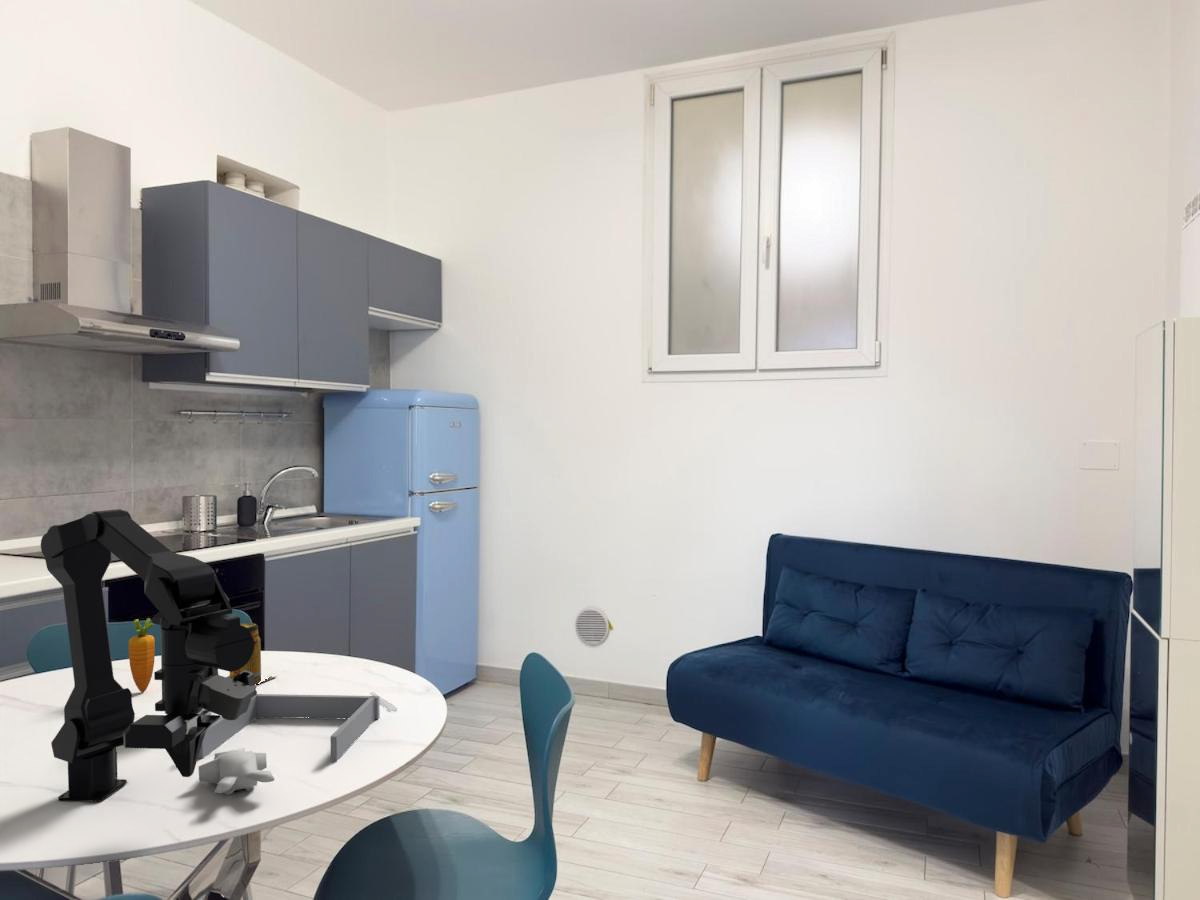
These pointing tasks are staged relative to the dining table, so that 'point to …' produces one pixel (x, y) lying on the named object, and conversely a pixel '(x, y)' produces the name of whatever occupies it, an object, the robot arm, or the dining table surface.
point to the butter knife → (385, 703)
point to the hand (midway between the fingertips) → (187, 775)
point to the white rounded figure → (235, 770)
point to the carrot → (142, 655)
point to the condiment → (253, 656)
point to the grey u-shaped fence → (311, 706)
